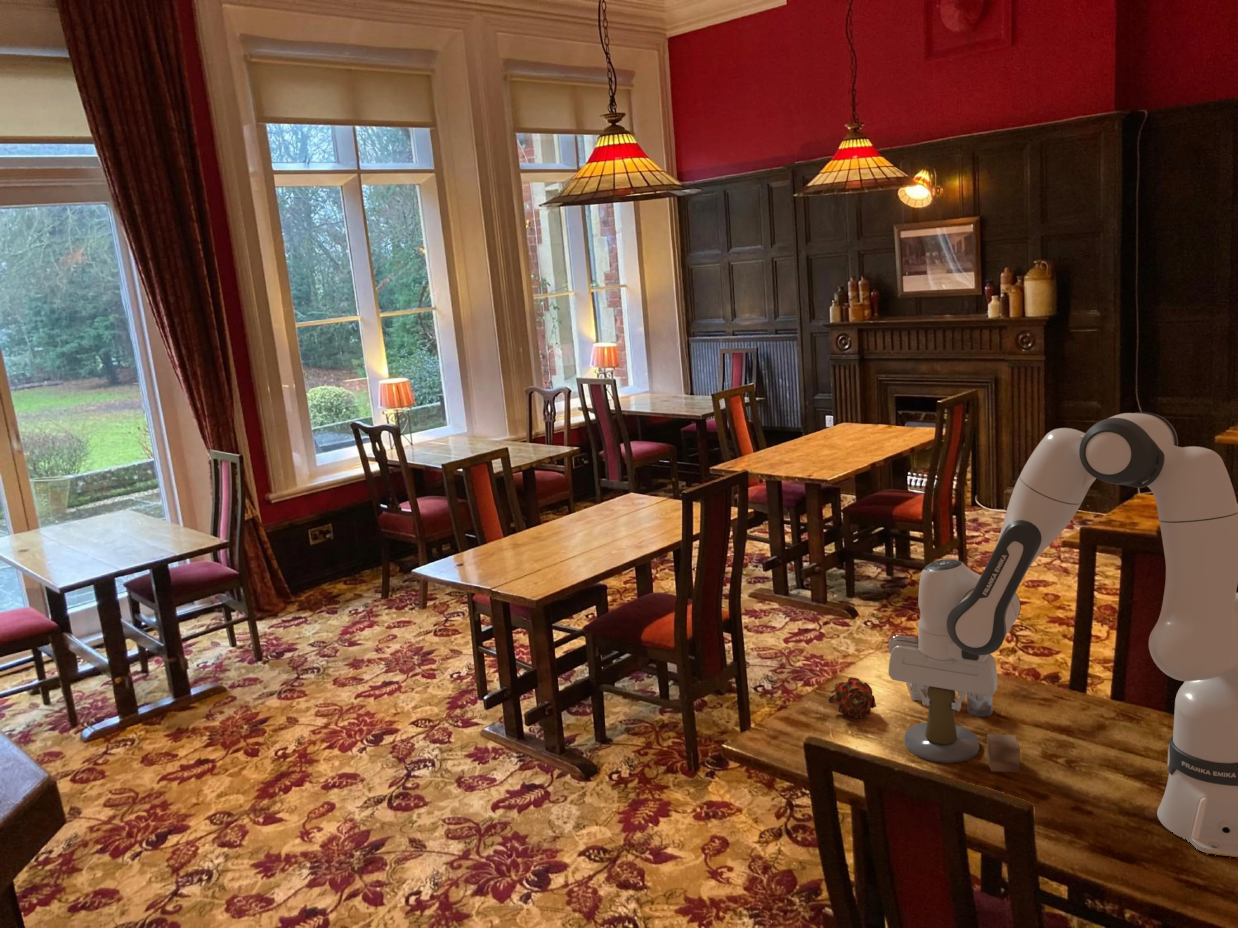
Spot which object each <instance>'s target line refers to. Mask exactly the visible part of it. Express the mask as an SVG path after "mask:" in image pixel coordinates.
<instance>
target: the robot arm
mask: <svg viewBox="0 0 1238 928" xmlns="http://www.w3.org/2000/svg"><path fill="white" fill-rule="evenodd" d="M1096 479H1097V480H1099V481H1102V482H1105V483H1109V484H1113V485H1119V486H1126V487H1132V488H1135V489H1136V488H1137V489H1143V488H1148V489H1149V490H1150V491H1151V492H1152V495H1153V497H1154V500H1155V505H1156V511H1157V518H1158V522H1159V527H1160V533H1161V540H1162V547H1163V554H1164V560H1165V584H1164V592H1163V599H1162V604H1161V610H1160V614H1159V617H1158V620H1157V622H1156V623H1155V625H1154V627H1153V628H1152V630H1151V632H1150V633H1149V634H1150V635H1149V637H1148V650H1149V653H1150V656H1151V659H1152V660H1153V662H1154V664H1155V665H1156V667H1157V668H1158V669H1159V670H1160V671H1162V673H1164V674H1165V675H1167V676H1168V677H1170V678H1172V679H1174V680H1177V681H1181V682H1183V684H1181V686H1180V687H1179V689H1178V691H1177V692H1176V697H1175V700H1174V714H1173V729H1172V730H1173V733H1172V735H1171V736H1170V739H1169V744H1168V749H1167V768H1168V769H1167V770H1168V777H1167V783H1166V787H1165V791H1164V794H1163V797H1162V798H1161V802H1160V804H1159V806H1158V807H1157V811H1156V814H1157V819H1158V820H1159V821H1160V823H1161V824H1162V826H1163V827H1165V829H1167V830H1168V831H1169V832H1171V833H1172V832H1173V833H1172V834H1174V835H1176V836H1178V837H1180V838H1181V837H1182V838H1181V839H1183V840H1185V839H1186V840H1187V841H1186V840H1185V841H1186V842H1187V843H1189V842H1190V843H1191V844H1192V845H1193V846H1194V847H1195V848H1196V849H1195V848H1194V847H1193V846H1192V845H1191V844H1190V843H1189V844H1190V845H1191V846H1192V847H1193V848H1194V849H1195V850H1197V849H1198V850H1200V851H1202V852H1206V853H1217V854H1225V855H1231V856H1237V857H1238V592H1237V590H1238V589H1237V588H1238V502H1237V498H1236V494H1235V490H1234V487H1233V484H1232V481H1231V477H1230V475H1229V472H1228V469H1227V468H1226V466H1225V463H1224V460H1223V459H1222V457H1221V456H1220V454H1218V453H1217V452H1216V451H1215V450H1212V449H1209V448H1206V447H1203V446H1183V447H1182V446H1179V439H1178V434H1177V432H1176V430H1175V428H1174V426H1173V425H1172V423H1171V422H1169V420H1167V419H1166V418H1165V417H1163V416H1161V415H1159V414H1157V413H1153V412H1149V411H1148V412H1147V411H1136V412H1135V411H1134V412H1133V413H1132V412H1124V413H1120V414H1116V415H1112V416H1110V417H1107V418H1105V419H1102V420H1099V421H1098V422H1096V423H1095V424H1093V425H1092V426H1091V427H1090V428H1089V429H1088V430H1086V432H1083V431H1081V430H1078V429H1074V428H1070V427H1069V428H1068V427H1060V428H1054V429H1052V430H1050V431H1049V432H1047V433H1046V434H1045V436H1044V437H1043V438H1042V439H1041V440H1040V442H1039V443H1038V444H1037V446H1036V447H1035V448H1034V450H1033V451H1032V452H1031V454H1030V456H1029V458H1028V459H1027V461H1026V463H1025V464H1024V467H1023V469H1022V470H1021V472H1020V474H1019V476H1018V478H1017V480H1016V482H1015V485H1014V487H1013V491H1012V493H1011V496H1010V498H1009V502H1008V504H1007V509H1006V511H1005V516H1004V519H1003V523H1002V525H1001V529H1000V533H999V536H998V539H997V541H996V542H997V543H996V545H995V547H994V550H993V552H992V553H991V556H990V557H989V559H988V562H987V564H986V566H985V568H984V569H983V571H982V573H981V574H979V573H977V572H975V571H973V570H972V569H970V568H969V567H968V566H967V565H966V564H965V563H964V562H963V561H961V560H957V559H951V558H949V559H945V558H944V559H939V560H936V561H932V562H930V563H929V564H927V565H926V566H925V567H924V568H922V571H921V572H920V576H919V577H920V578H919V585H918V602H917V605H918V609H919V612H920V614H919V615H920V616H919V621H918V622H917V623H918V624H917V625H918V626H917V628H918V629H917V630H918V631H917V634H918V635H917V636H918V637H917V636H911V635H910V636H909V635H907V636H906V635H902V634H896V635H894V636H893V635H892V636H891V637H890V638H889V640H888V652H889V654H890V656H889V664H888V676H889V677H890V679H891V680H893V681H895V682H896V681H897V682H903V683H906V682H908V683H914V684H917V690H918V692H919V693H920V695H921V697H922V702H921V703H922V705H923V706H930V699H929V697H928V693H927V691H926V689H925V686H931V687H937V688H943V689H949V690H954V691H955V692H957V697H958V698H955V699H954V701H953V702H952V710H953V711H954V712H955V711H957V712H960V711H961V710H962V709H961V708H962V702H963V700H964V699H965V697H967V693H972V694H978V695H984V696H992V697H993V695H994V694H995V693H996V691H997V688H998V670H997V663H996V659H995V658H994V656H993V655H992V654H993V653H995V652H996V651H998V650H999V649H1000V647H1001V646H1002V644H1003V642H1004V640H1005V638H1006V636H1007V634H1008V633H1009V631H1010V630H1011V629H1012V627H1013V625H1014V624H1015V622H1016V621H1017V618H1019V616H1020V613H1021V608H1022V607H1021V606H1022V605H1021V600H1020V598H1019V594H1018V593H1017V591H1018V589H1019V587H1020V586H1021V583H1022V581H1023V580H1024V578H1025V576H1026V574H1027V572H1028V570H1029V569H1030V567H1031V566H1032V564H1033V563H1034V562H1035V561H1036V560H1037V558H1038V557H1039V556H1040V555H1042V553H1043V552H1044V551H1045V550H1046V549H1047V548H1048V547H1049V546H1050V545H1051V544H1052V543H1053V542H1054V541H1055V540H1056V539H1057V538H1058V537H1059V535H1060V534H1061V533H1062V532H1063V531H1064V530H1065V529H1066V528H1067V527H1068V525H1069V524H1070V522H1071V520H1073V518H1074V516H1075V515H1076V514H1077V512H1078V510H1079V508H1080V507H1081V505H1082V503H1083V501H1084V499H1085V497H1086V495H1087V493H1088V492H1089V489H1090V487H1091V486H1092V484H1094V482H1095V481H1096ZM1198 850H1197V851H1198Z"/></svg>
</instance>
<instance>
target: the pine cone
mask: <svg viewBox="0 0 1238 928" xmlns="http://www.w3.org/2000/svg"><path fill="white" fill-rule="evenodd" d="M833 693H834V694H833ZM830 694H833V695H831V696H830V695H828V696H827V701H828V703H829V704H835V705H838V709H837V711H838V712H839V713H840V714H842V715H843V716H844V715H848V716H849V717H851V718H854V719H861V718H862V717H864V718H865V717H866V718H867V717H868V716H869V715H871V711H872V709H874V708H876V707H877V704H876V699H875V696H874V695H873V689H872V687H871V686H870V685H869V683H867V682H863V681H862V680H860V679H859V678H857V677H853V676H849V677H848V679H847V681H840V682H838V683H835V685H834V689H833V690H832V691H831V692H830Z"/></svg>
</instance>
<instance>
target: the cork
mask: <svg viewBox="0 0 1238 928" xmlns="http://www.w3.org/2000/svg"><path fill="white" fill-rule="evenodd" d="M928 697H929V699H930V706H929V709H928V714H927V720H926V723H927V726H926V732H925V736H926V738H927V739H928V740H930V741H932V742H934V743H939V744H950V743H953V742H955V741H956V740H957V733H956V725H957V724H956V719H955V710H952V702H953V701H954V699H956V691H954V690H949V689H943V688H937V687H931V686H929V688H928Z"/></svg>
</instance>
